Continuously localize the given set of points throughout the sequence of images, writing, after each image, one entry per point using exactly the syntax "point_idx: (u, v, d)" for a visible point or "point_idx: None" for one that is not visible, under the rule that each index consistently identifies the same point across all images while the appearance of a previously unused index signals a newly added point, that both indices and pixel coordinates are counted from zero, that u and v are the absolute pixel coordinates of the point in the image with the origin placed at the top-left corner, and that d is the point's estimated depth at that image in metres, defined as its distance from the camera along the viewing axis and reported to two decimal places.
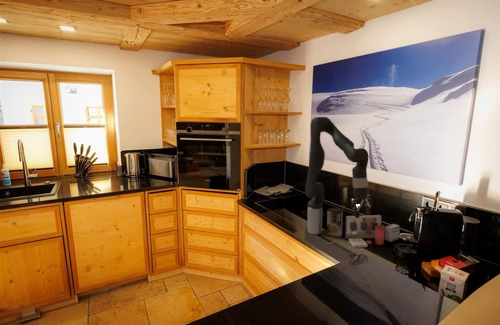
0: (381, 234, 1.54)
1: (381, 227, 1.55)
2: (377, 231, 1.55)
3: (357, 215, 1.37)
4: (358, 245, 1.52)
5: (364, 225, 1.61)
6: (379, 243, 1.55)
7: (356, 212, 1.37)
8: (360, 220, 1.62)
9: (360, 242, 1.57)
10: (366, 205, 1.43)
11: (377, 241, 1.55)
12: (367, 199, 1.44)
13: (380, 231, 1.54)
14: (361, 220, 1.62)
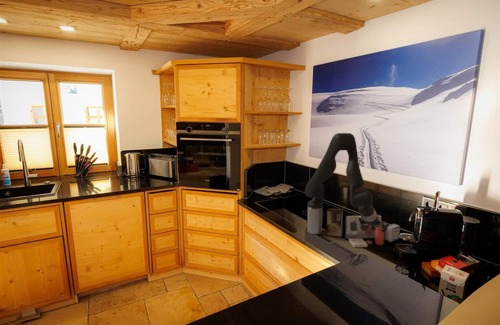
0: (381, 234, 1.54)
1: None
2: (377, 231, 1.55)
3: (365, 226, 1.52)
4: (358, 245, 1.52)
5: (364, 225, 1.61)
6: (379, 243, 1.55)
7: (364, 224, 1.51)
8: None
9: (360, 242, 1.57)
10: (382, 226, 1.44)
11: (377, 241, 1.55)
12: None
13: (380, 231, 1.54)
14: None
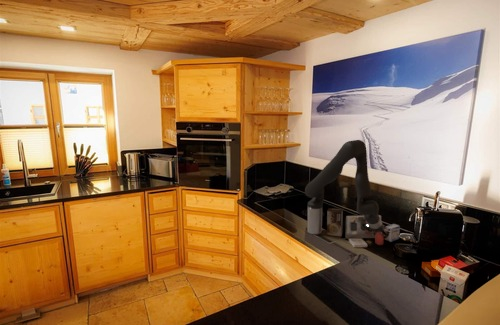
0: None
1: None
2: None
3: (374, 234, 1.59)
4: (358, 245, 1.52)
5: (364, 225, 1.61)
6: (379, 243, 1.55)
7: (373, 232, 1.58)
8: (360, 220, 1.62)
9: (360, 242, 1.57)
10: (384, 232, 1.53)
11: (377, 241, 1.55)
12: None
13: None
14: (361, 220, 1.62)
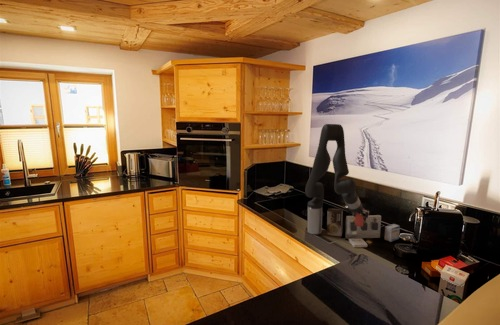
0: None
1: None
2: None
3: (354, 216, 1.56)
4: (358, 245, 1.52)
5: (364, 225, 1.61)
6: (359, 225, 1.52)
7: None
8: None
9: (360, 242, 1.57)
10: (363, 213, 1.51)
11: (357, 223, 1.53)
12: None
13: None
14: None
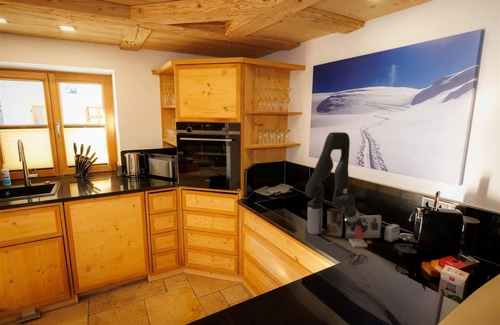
0: (360, 228, 1.52)
1: None
2: None
3: (353, 228, 1.57)
4: (358, 245, 1.52)
5: None
6: (358, 237, 1.53)
7: (352, 226, 1.57)
8: None
9: (360, 242, 1.57)
10: None
11: (356, 235, 1.54)
12: None
13: None
14: None
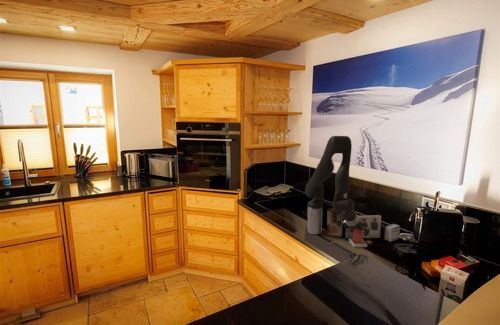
0: (359, 234, 1.53)
1: None
2: (355, 231, 1.54)
3: (350, 230, 1.58)
4: (358, 245, 1.52)
5: (364, 225, 1.61)
6: (357, 243, 1.54)
7: (349, 228, 1.58)
8: (360, 220, 1.62)
9: None
10: None
11: (355, 241, 1.55)
12: None
13: (358, 231, 1.53)
14: (361, 220, 1.62)
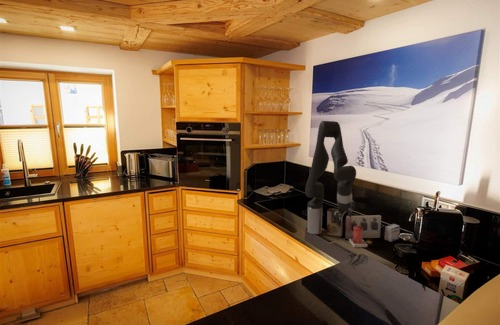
0: (359, 234, 1.53)
1: (359, 227, 1.54)
2: (355, 231, 1.54)
3: (338, 223, 1.44)
4: (358, 245, 1.52)
5: (364, 225, 1.61)
6: (357, 243, 1.54)
7: (338, 221, 1.43)
8: (360, 220, 1.62)
9: None
10: (349, 209, 1.47)
11: (355, 241, 1.55)
12: None
13: (358, 231, 1.53)
14: (361, 220, 1.62)
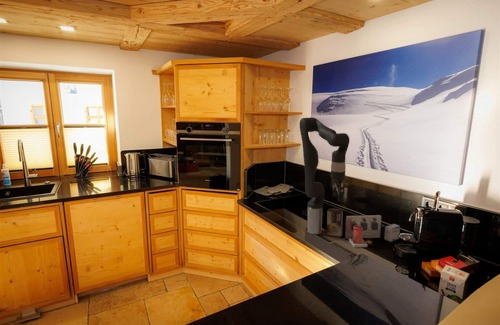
0: (359, 234, 1.53)
1: (359, 227, 1.55)
2: (355, 231, 1.54)
3: (341, 198, 1.41)
4: (358, 245, 1.52)
5: (364, 225, 1.61)
6: (357, 243, 1.54)
7: (341, 195, 1.41)
8: (360, 220, 1.62)
9: None
10: None
11: (355, 241, 1.55)
12: (333, 182, 1.51)
13: (358, 231, 1.53)
14: (361, 220, 1.62)
